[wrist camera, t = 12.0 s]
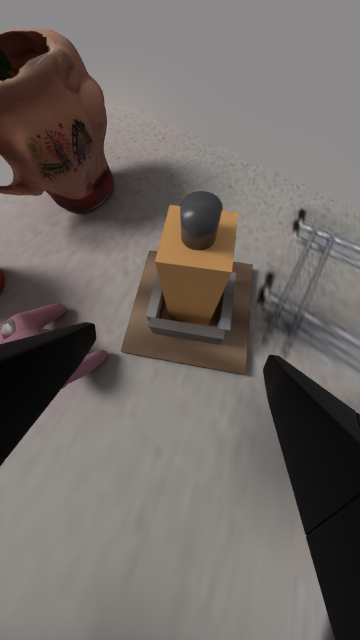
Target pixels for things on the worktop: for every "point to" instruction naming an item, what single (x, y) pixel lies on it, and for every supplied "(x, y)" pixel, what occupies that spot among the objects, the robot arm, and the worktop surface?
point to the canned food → (1, 282)
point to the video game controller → (34, 324)
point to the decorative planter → (52, 121)
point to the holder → (192, 325)
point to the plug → (196, 256)
